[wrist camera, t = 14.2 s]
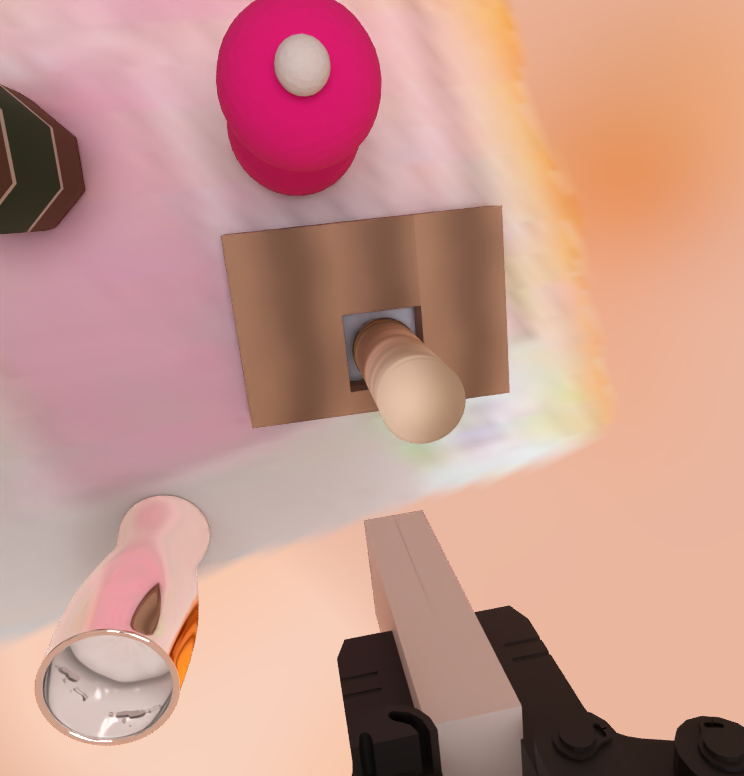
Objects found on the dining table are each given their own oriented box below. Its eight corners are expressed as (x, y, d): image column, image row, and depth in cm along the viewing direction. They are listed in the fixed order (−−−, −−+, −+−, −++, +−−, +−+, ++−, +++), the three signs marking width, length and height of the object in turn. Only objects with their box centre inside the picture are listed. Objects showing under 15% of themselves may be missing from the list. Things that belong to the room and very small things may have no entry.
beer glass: (176, 595, 45) (127, 772, 31) (92, 543, 43) (-2, 706, 29) (236, 525, 45) (214, 673, 30) (153, 469, 43) (87, 599, 28)
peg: (352, 375, 43) (383, 450, 29) (345, 316, 42) (375, 365, 28) (411, 367, 43) (469, 437, 30) (406, 308, 42) (463, 353, 29)
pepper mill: (319, 47, 37) (357, -126, 18) (372, 165, 39) (456, 121, 20) (210, 103, 37) (132, -11, 18) (269, 217, 39) (254, 223, 20)
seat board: (254, 416, 43) (252, 428, 40) (224, 234, 39) (221, 235, 37) (497, 382, 44) (509, 392, 42) (489, 205, 41) (501, 205, 39)
